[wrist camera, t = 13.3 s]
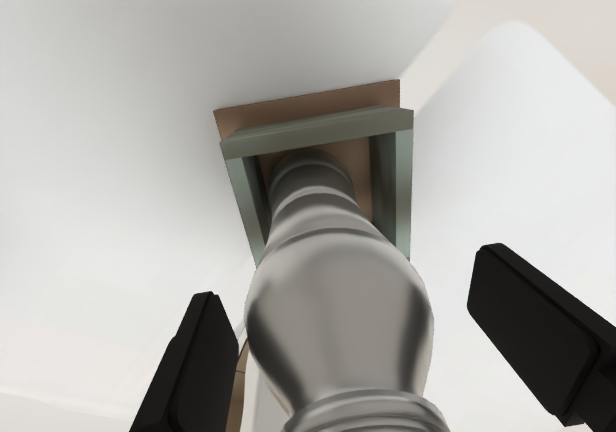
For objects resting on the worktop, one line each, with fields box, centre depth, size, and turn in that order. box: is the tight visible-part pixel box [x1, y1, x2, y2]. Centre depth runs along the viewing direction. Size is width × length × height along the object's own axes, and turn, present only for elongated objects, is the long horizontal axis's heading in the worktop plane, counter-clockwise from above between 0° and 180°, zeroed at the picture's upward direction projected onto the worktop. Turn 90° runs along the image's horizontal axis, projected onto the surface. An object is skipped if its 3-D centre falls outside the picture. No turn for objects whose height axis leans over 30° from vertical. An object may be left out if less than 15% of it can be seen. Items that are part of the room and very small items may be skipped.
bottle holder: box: [213, 79, 414, 268], centre depth 20 cm, size 14×14×7 cm
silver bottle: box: [244, 149, 450, 432], centre depth 13 cm, size 6×7×20 cm
